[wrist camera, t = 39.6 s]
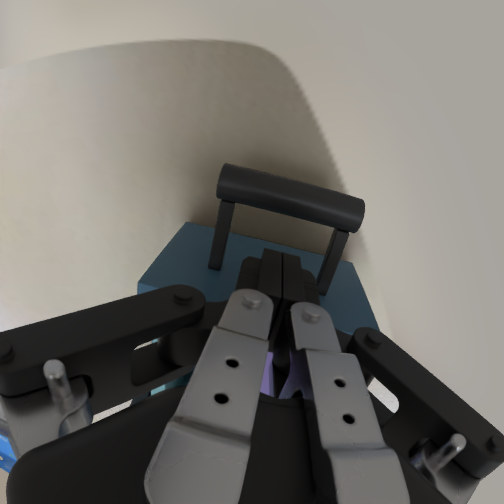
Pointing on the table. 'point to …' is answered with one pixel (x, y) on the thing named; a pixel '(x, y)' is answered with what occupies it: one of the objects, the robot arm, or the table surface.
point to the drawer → (240, 247)
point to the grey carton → (7, 445)
